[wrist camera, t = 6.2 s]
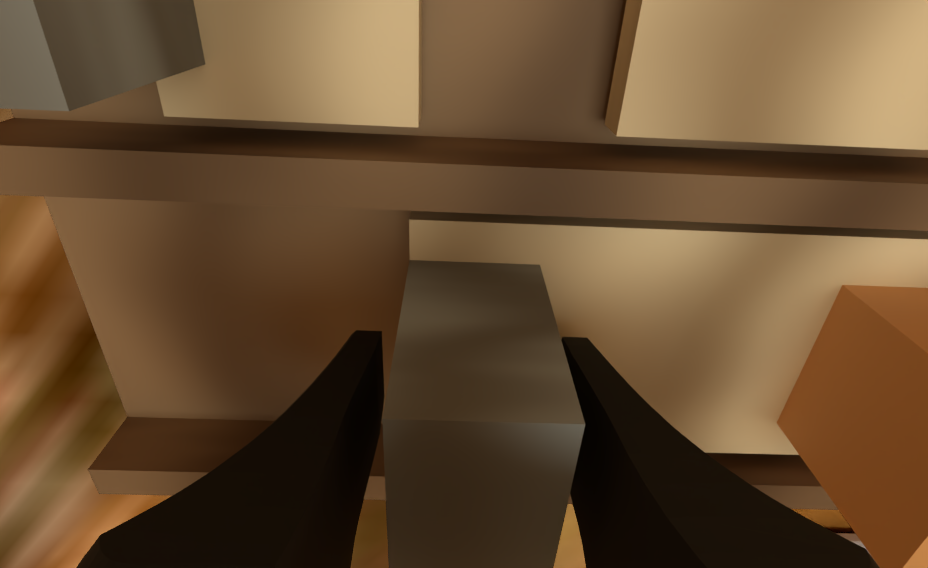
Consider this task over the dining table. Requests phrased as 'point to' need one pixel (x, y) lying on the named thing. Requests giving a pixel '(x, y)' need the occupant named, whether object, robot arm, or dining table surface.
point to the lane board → (415, 168)
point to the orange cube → (870, 418)
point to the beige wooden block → (616, 337)
